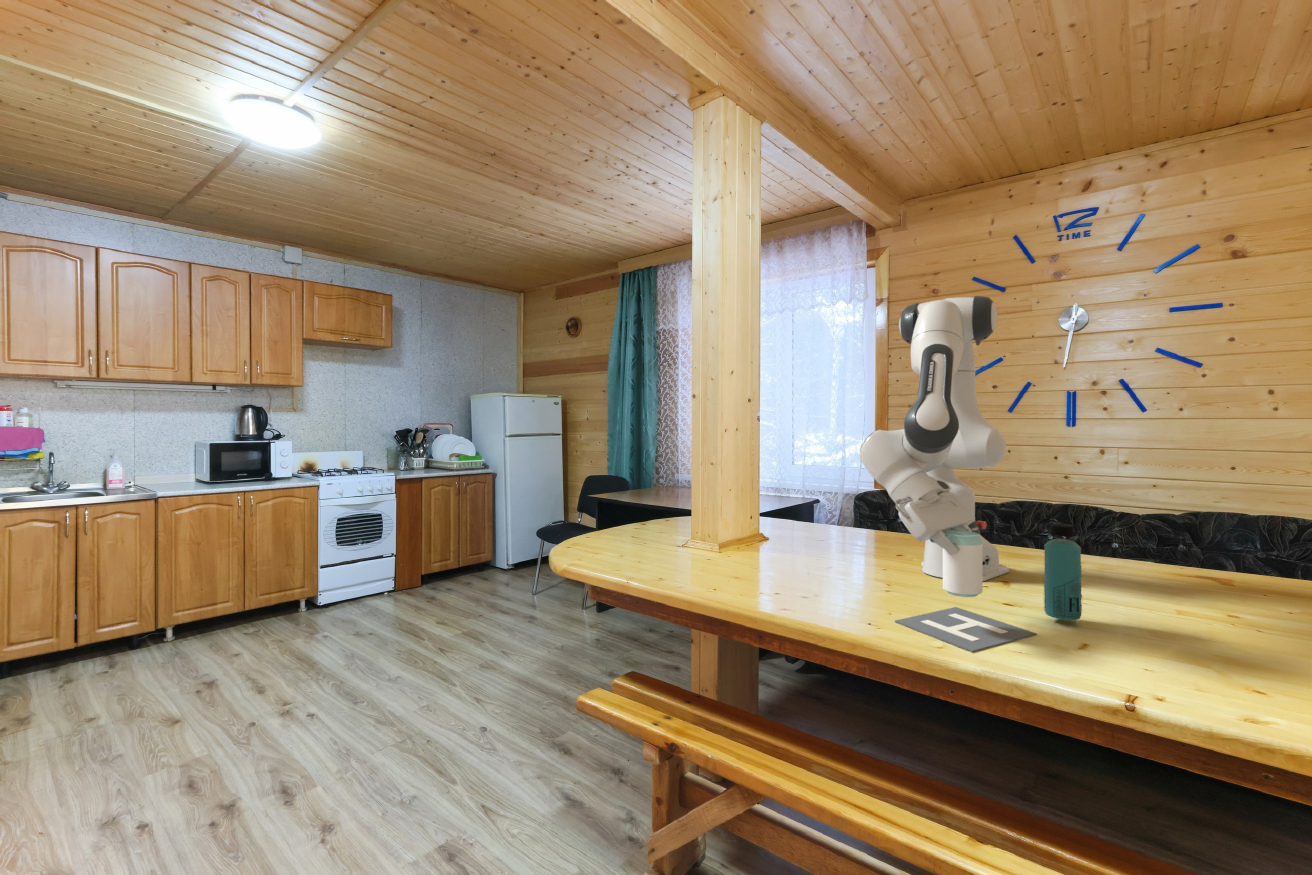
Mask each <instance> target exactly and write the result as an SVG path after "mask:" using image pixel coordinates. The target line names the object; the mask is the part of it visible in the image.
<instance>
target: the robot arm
mask: <svg viewBox="0 0 1312 875" xmlns="http://www.w3.org/2000/svg"><path fill="white" fill-rule="evenodd" d="M900 314H901V315H900V318H899V320H898V321H899V322H898V329H899V333H900V335H901V337H902V340H903V341H904V342H906V343H907V344H909V345H910V365H911V366H910V367H911V370H912V371H913V372H914V373H915V374H916V375H917V376H919V379H918V387H917V395H916V396H917V397H916V400H915V401H914V403H913V404H912V406H911V407H910V408H909V410H908V411H907V413H906V416H905V418H904V422H903V424H904V425H903V426H904V428H903V429H902V428H901V429H897V430H896V429H895V430H883V429H877V430H875V431H873V432H872V433H871V434H869V435H868V436H867V437H866V438H865V439H864V441H863V442H862V444H861V445H860V449H859V458H860V461H861V462H862V464H863V466H864V467H865V469H866V470H867V471H868V473H869V474H870V475H871V476H872V477H873V479H874V480H875V481H876V483H878V484H879V485H881V486H882V487H883V488H884V489H885V490H886V491H887V493H888V496H889V497H890V499H891V500H892V501H893V502H894V504H895V509H896V510H897V511H898V517H899V520H901V522H902V524H903V525H904V526H905V528H906V529H907V530H908V532H909V533H910V534H911V536H912V537H913V538H914V539H915V540H916V541H919V543H920V542H921V543H922V542H925V544H924V554H923V560H922V561H921V564H920V566H921V567H922V568H921V570H922V572H923V573H924V574H927V575H929V576H932V577H937V578H941V579H943V548H944V549H945V550H946V551H947V552H948V553H949V555H954V554H956V553H957V552H959V551H960V548H959V547H958V546H957V545H956V544H955V542H954V543H952V542H951V541H950V540H949V539H947V538H946V537H945V536H946V532H947V531H956V530H957V531H970V532H975V533H978V534H979V538H980V540H981V541H982V582H985V581H988V580H991V579H993V578H996V577H999V576H1002V575H1004V574H1007V573H1010V568H1009V566H1006V565H1004V564H1001V563H1000V558H999V552H998V549H997V547H996V546H994V545H993V544H992V543H990V541H988V540H987V539H985V537H983V535H981V532H980V529H981V530H985V529H986V528H987V526H988V524H987V521H983V520H976V516H975V515H976V495H975V494H976V493H975V492H974V490H973V489H972V487H971V486H970V485H968V484H966V483H965V482H964V481H961V480H960V479H959V478H958V477H957V475H956V473H955V471H954V468H955V469H956V468H957V469H958V468H959V469H974V470H975V469H985V468H986V469H987V468H991V467H996V466H997V465H999V464H1000V463H1001V461H1002V460H1003V459H1004V456H1005V454H1006V451H1007V450H1006V449H1007V446H1006V441H1005V437H1004V436H1003V435H1002V433H1001V432H1000V431H999V429H997V428H995V427H994V426H992V424H990V423H989V422H988V421H987V419H986V418H985V417H984V415H983V414H982V412H981V410H980V408H979V404H978V400H977V390H976V359H975V351H974V350H975V349H974V345H973V341H975V344H976V346H979V345H981V342H982V341H984V340H986V339H988V338H989V337H990V336H991V335H992V334H993V332H994V331H995V328H996V325H997V322H998V310H997V307H996V306H995V304H994V301H993V300H992V299H991V298H990V297H988V296H982V295H975V296H974V297H973V296H972V297H971V296H970V297H969V296H967V297H966V296H964V297H963V296H961V297H960V296H958V297H946V298H943V299H938V300H937V299H936V300H930V301H926V302H922V303H919V302H917V303H913V304H909V305H907V306H906V307H905V308H904V309H903V310H902V311H901V313H900Z"/></svg>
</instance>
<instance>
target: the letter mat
mask: <svg viewBox="0 0 1312 875" xmlns="http://www.w3.org/2000/svg"><path fill="white" fill-rule="evenodd" d="M894 623H896V624H899V625H901V626H904V627H906V628H909V629H911V630H915V631H917V632H919V633H921V634H924V635H927V636H929V637H932V638H934V639H937V640H939V641H941V642H944V643H947V644H950V645H952V646H955V647H957V648H958V649H959V648H960V649H962V650H965V651H967V652H970V653H975V652H980V651H984V650H987V649H990V648H993V647H997V646H1002V645H1005V644H1008V643H1012V642H1016V641H1019V640H1024V639H1027V638H1031V637H1034V636H1037V635H1038V633H1037V632H1034V631H1032V630H1031V631H1030V630H1028V629H1025V628H1021V627H1018V626H1015V625H1013V624H1009V623H1007V622H1003V621H1000V620H997V619H994V618H991V617H988V616H985V615H982V614H978V613H975V612H973V611H970V610H966V609H963V608H961V607H957V606H953V607H950V608H945V609H940V610H936V611H931V612H927V613H923V614H918V615H914V616H909V617H905V618H900V619H896V620H894Z"/></svg>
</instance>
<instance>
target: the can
mask: <svg viewBox="0 0 1312 875" xmlns="http://www.w3.org/2000/svg"><path fill="white" fill-rule="evenodd" d="M945 537H946V538H947V539H949V540H950V541H951V542H952V543H954V542H955V544H956V545H957V546H958V547H959V548H960V551H959V552H957V553H956V554H954V555H949V553H948V552H947V551H946V550H945V549H944V548H943V578H942V589H943V590H944V591H945V592H947V593H948V594H949V595H953V596H956V597H961V598H963V597H964V598H974V597H978V596H979V595H980V594H982V593H983V592H984V591H983V581H982V541H981V540H980V538H979V534H978V533H975V532H970V531H957V530H956V531H947V532H946V536H945Z"/></svg>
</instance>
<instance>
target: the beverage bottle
mask: <svg viewBox="0 0 1312 875" xmlns="http://www.w3.org/2000/svg"><path fill="white" fill-rule="evenodd" d="M1049 534H1050V535H1052V536H1054V537H1055V536H1056V537H1067V538H1069V537H1070V538H1071V537H1074V536H1075V526H1074V525H1073V524H1069V523H1068V524H1067V523H1051V524H1050V529H1049ZM1043 549H1044V575H1043V602H1044V604H1043V605H1044V606H1043V609H1044V613H1045V614H1046V616H1049V617H1052V618H1055V619H1058V620H1064V621H1077V620H1081V617H1082V614H1083V605H1082V598H1083V594H1082V588H1083V587H1082V577H1083V575H1082V566H1083V564H1082V561H1081V560H1082V559H1081V558H1082V548H1081V546H1080V545H1079V544H1078V543H1077V542H1076V541H1073V540H1070V539H1061V538H1058V539H1057V538H1054V539H1050V540H1048V541H1047V542H1046V543H1045V544H1044V545H1043Z"/></svg>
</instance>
